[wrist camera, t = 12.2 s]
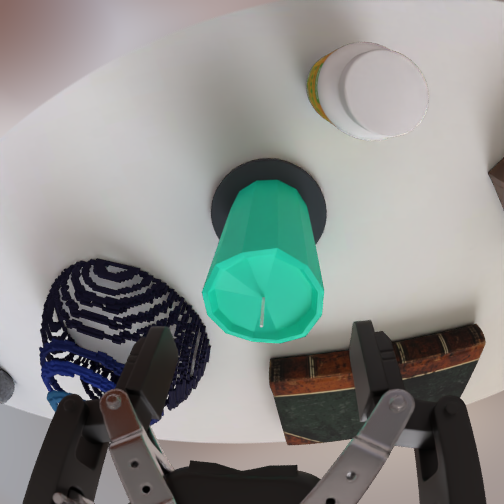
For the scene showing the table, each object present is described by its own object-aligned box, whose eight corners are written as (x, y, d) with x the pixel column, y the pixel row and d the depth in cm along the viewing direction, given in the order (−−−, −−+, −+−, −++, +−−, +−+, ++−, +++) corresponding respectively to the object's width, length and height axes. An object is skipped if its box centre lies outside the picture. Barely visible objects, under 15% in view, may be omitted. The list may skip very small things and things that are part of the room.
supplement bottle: (295, 62, 19) (309, 45, 10) (366, 47, 17) (424, 28, 9) (318, 132, 21) (346, 165, 13) (386, 116, 20) (451, 141, 11)
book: (287, 426, 41) (443, 399, 37) (286, 446, 38) (449, 417, 34) (269, 355, 33) (475, 320, 29) (267, 381, 30) (487, 341, 26)
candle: (324, 214, 24) (355, 323, 13) (271, 262, 26) (265, 381, 16) (266, 162, 22) (254, 242, 12) (214, 218, 24) (171, 324, 14)
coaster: (190, 213, 25) (188, 216, 25) (268, 133, 21) (268, 135, 21) (268, 280, 28) (268, 284, 27) (348, 215, 24) (349, 218, 24)
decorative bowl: (203, 398, 39) (184, 493, 26) (73, 361, 38) (33, 438, 26) (219, 285, 28) (184, 425, 16) (42, 244, 28) (-41, 331, 16)
